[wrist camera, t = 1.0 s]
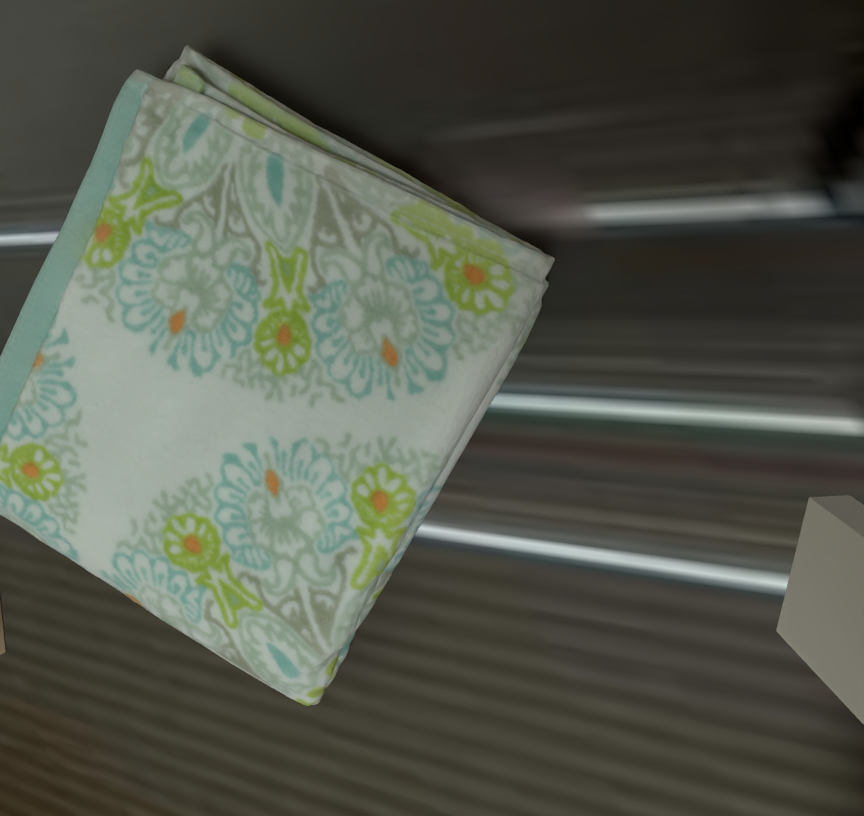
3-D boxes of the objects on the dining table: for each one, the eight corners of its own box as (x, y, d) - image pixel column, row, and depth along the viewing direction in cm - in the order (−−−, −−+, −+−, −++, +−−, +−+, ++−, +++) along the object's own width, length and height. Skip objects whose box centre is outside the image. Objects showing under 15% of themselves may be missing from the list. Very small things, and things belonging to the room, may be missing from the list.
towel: (578, 261, 29) (570, 245, 24) (333, 687, 33) (283, 750, 28) (204, 58, 31) (127, 7, 26) (23, 475, 36) (-71, 498, 31)
